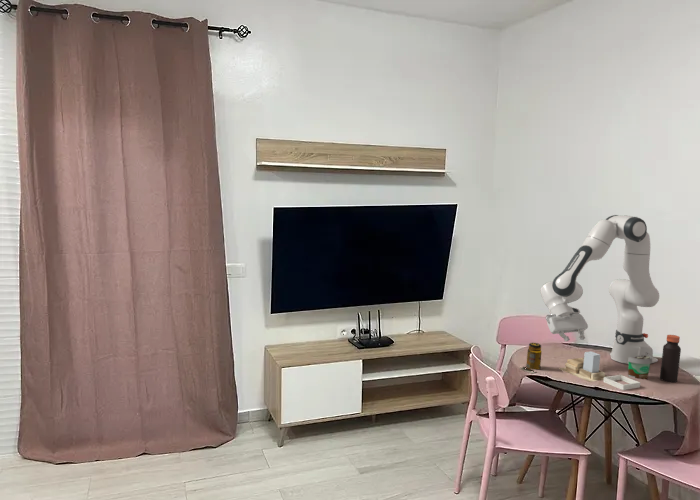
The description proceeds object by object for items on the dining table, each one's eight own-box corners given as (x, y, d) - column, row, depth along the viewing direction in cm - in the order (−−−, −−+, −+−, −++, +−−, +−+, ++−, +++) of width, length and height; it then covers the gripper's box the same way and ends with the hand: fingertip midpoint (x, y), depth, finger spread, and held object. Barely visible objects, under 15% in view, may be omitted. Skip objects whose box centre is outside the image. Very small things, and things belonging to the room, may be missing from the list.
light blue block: (589, 373, 258) (591, 351, 257) (598, 376, 253) (600, 354, 252) (582, 374, 256) (584, 352, 255) (591, 377, 252) (593, 355, 250)
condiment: (544, 370, 262) (546, 345, 261) (531, 373, 257) (533, 347, 256) (531, 366, 268) (533, 340, 267) (518, 368, 263) (520, 343, 262)
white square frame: (619, 381, 251) (620, 374, 251) (639, 389, 242) (640, 382, 242) (603, 384, 247) (603, 377, 247) (622, 392, 238) (623, 385, 238)
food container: (638, 383, 250) (640, 361, 249) (625, 378, 255) (628, 356, 254) (656, 379, 256) (658, 357, 254) (643, 375, 261) (646, 353, 260)
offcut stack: (581, 367, 266) (582, 357, 265) (591, 371, 260) (592, 361, 260) (564, 369, 262) (565, 359, 261) (574, 373, 256) (575, 363, 256)
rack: (580, 367, 269) (581, 360, 268) (612, 380, 252) (613, 372, 252) (558, 370, 263) (558, 363, 262) (589, 384, 247) (589, 376, 246)
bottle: (679, 381, 255) (685, 336, 252) (672, 383, 251) (678, 339, 248) (664, 376, 260) (668, 333, 258) (656, 379, 256) (661, 335, 254)
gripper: (548, 311, 263) (562, 338, 255) (581, 309, 271) (596, 334, 264) (540, 318, 268) (553, 345, 260) (573, 316, 276) (587, 341, 268)
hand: (575, 339), depth 262 cm, fingers open, 8 cm apart
